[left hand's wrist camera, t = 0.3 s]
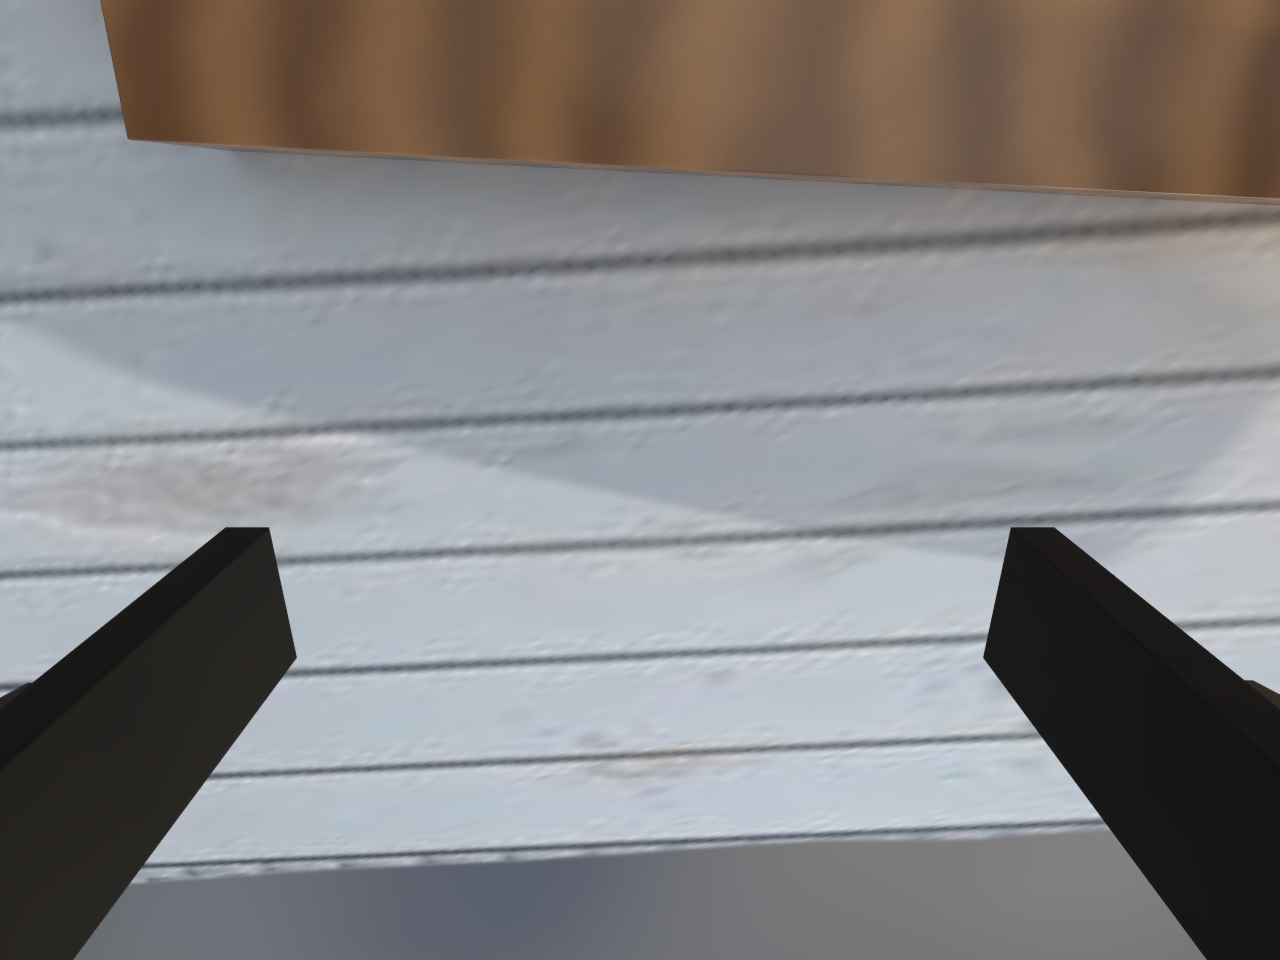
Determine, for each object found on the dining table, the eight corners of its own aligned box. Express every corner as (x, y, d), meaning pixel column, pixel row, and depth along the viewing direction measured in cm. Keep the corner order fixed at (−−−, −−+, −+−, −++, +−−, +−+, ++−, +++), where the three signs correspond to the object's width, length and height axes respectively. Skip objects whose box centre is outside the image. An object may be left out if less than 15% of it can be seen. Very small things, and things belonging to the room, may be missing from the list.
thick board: (229, 150, 34) (127, 139, 27) (189, -115, 30) (59, -204, 23) (1755, 229, 35) (2019, 238, 29) (1900, -15, 32) (2244, -72, 25)
